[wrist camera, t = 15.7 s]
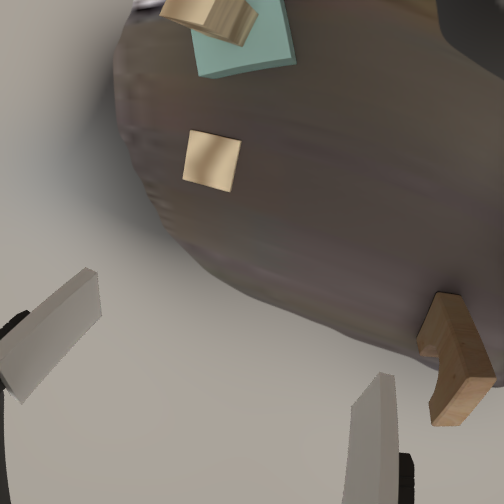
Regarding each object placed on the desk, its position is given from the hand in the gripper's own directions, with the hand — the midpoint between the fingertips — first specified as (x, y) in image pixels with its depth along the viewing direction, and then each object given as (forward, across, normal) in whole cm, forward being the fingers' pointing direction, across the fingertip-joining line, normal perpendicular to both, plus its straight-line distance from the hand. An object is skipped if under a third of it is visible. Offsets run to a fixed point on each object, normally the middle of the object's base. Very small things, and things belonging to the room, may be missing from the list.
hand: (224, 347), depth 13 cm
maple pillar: (+29, -13, +18) cm, 37 cm away
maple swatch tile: (+35, -14, -2) cm, 37 cm away
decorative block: (+35, +31, -16) cm, 49 cm away
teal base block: (+35, -13, +18) cm, 42 cm away
